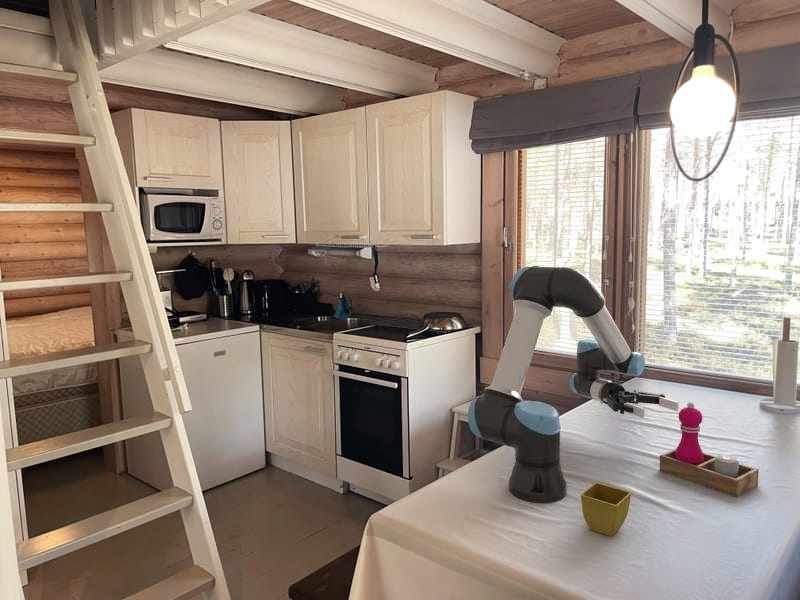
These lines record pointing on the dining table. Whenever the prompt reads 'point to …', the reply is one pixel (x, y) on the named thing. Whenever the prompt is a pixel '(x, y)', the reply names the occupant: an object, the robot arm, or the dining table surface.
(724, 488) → the caddy
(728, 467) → the salt jar
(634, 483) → the dining table surface
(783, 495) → the dining table surface
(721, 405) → the dining table surface
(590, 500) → the flower pot
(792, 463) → the dining table surface
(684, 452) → the pepper mill
